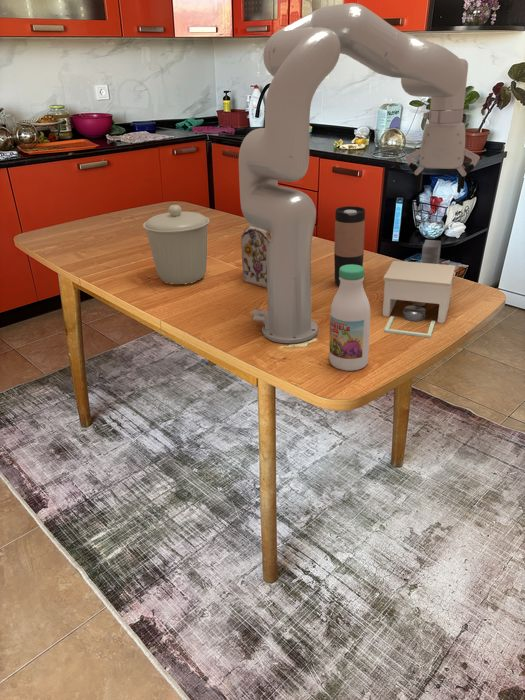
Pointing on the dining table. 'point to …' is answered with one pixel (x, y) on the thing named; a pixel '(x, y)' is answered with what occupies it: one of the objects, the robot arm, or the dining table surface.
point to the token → (414, 313)
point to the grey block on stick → (429, 257)
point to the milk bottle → (350, 321)
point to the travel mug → (348, 238)
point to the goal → (409, 331)
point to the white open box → (418, 285)
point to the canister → (178, 245)
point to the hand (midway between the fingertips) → (438, 191)
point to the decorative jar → (255, 255)
